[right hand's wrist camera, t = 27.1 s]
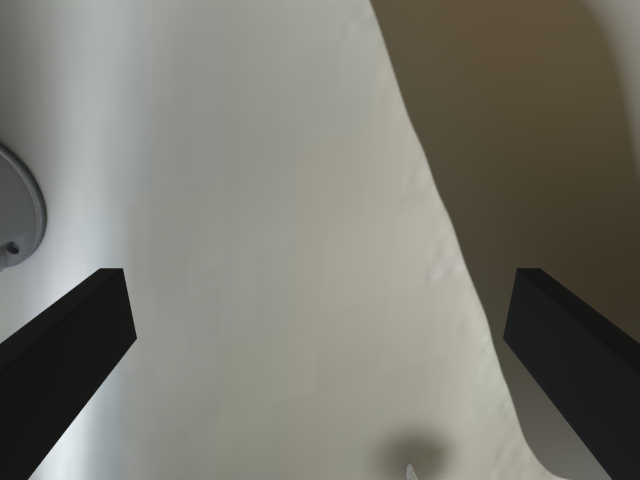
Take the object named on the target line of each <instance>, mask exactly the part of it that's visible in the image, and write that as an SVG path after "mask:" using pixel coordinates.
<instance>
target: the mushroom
mask: <svg viewBox="0 0 640 480" xmlns="http://www.w3.org/2000/svg"><path fill="white" fill-rule="evenodd" d="M407 480H418V479H417V477H416V475H415V472H414V470H413V467H412V465H411V464H408V466H407Z"/></svg>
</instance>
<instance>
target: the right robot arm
mask: <svg viewBox="0 0 640 480" xmlns="http://www.w3.org/2000/svg"><path fill="white" fill-rule="evenodd" d="M45 223H46V214H45V207H44V202H43V199H42V196H41V193H40V190H39V188H38V186H37V184H36V182H35V180H34V179H33V177H32V175H31V174H30V172H29V171H28V170H27V168H26V167H25V166H24V165H23V163H22V162H21V161H20V160H19V159H18V158H17V157H16V156H15V155H14V154H13V153H12V152H11V151H10V150H8V149H7V148H6V147H5V146H3V145H2V144H0V272H1V271H4V270H6V269H9V268H11V267H13V266H15V265H17V264H18V263H20V262H22V261H24V260H25V259H27V258H28V257H29V256H30V255H31V254H32V253H33V252H34V251H35V250H36V249H37V247H38V246H39V244H40V242H41V240H42V237H43V234H44V230H45ZM136 339H137V336H136V331H135V326H134V321H133V316H132V311H131V306H130V301H129V296H128V291H127V286H126V281H125V276H124V272H123V268H100V269H98V270H97V271H96V272H94V273H93V274H92V275H90V276H89V277H88V278H86V279H85V280H84V281H82V282H81V283H80V284H79V285H77V286H76V287H75V288H73V289H72V290H71V291H69V292H68V293H67V294H65V295H64V296H63V297H61V298H60V299H59V300H57V301H56V302H55V303H53V304H52V305H51V306H50V307H48V308H47V309H46V310H44V311H43V312H42V313H40V314H39V315H38V316H36V317H35V318H34V319H32V320H31V321H30V322H28V323H27V324H26V325H24V326H23V327H22V328H20V329H19V330H18V331H17V332H15V333H14V334H13V335H11V336H10V337H9V338H7V339H6V340H5V341H3V342H2V343H1V344H0V480H28V479H29V478H30V476H31V475H32V474H33V472H34V471H35V470H36V468H37V467H38V466H39V465H40V463H41V462H42V461H43V459H44V458H45V457H46V456H47V454H48V453H49V452H50V450H51V449H52V448H53V446H54V445H55V444H56V443H57V441H58V440H59V439H60V437H61V436H62V435H63V433H64V432H65V431H66V430H67V428H68V427H69V426H70V424H71V423H72V422H73V421H74V419H75V418H76V417H77V415H78V414H79V413H80V411H81V410H82V409H83V408H84V406H85V405H86V404H87V402H88V401H89V400H90V399H91V397H92V396H93V395H94V393H95V392H96V391H97V389H98V388H99V387H100V386H101V384H102V383H103V382H104V380H105V379H106V378H107V377H108V375H109V374H110V373H111V371H112V370H113V369H114V367H115V366H116V365H117V364H118V362H119V361H120V360H121V358H122V357H123V356H124V355H125V353H126V352H127V351H128V349H129V348H130V347H131V345H132V344H133V343H134V342H135V340H136ZM503 339H504V340H505V342H506V343H507V344H508V345H509V347H510V348H511V349H512V351H513V352H514V353H515V354H516V356H517V357H518V358H519V360H520V361H521V362H522V364H523V365H524V366H525V367H526V369H527V370H528V371H529V373H530V374H531V375H532V377H533V378H534V379H535V380H536V382H537V383H538V384H539V386H540V387H541V388H542V389H543V391H544V392H545V393H546V395H547V396H548V397H549V399H550V400H551V401H552V402H553V404H554V405H555V406H556V408H557V409H558V410H559V411H560V413H561V414H562V415H563V417H564V418H565V419H566V421H567V422H568V423H569V424H570V426H571V427H572V428H573V430H574V431H575V432H576V433H577V435H578V436H579V437H580V439H581V440H582V441H583V443H584V444H585V445H586V446H587V448H588V449H589V450H590V452H591V453H592V454H593V455H594V457H595V458H596V459H597V461H598V462H599V463H600V465H601V466H602V467H603V468H604V470H605V471H606V472H607V474H608V475H609V476H610V477H611V479H612V480H640V344H639V343H638V342H637V341H635V340H634V339H633V338H631V337H630V336H629V335H627V334H626V333H625V332H623V331H622V330H621V329H619V328H618V327H617V326H616V325H614V324H613V323H612V322H610V321H609V320H608V319H606V318H605V317H604V316H602V315H601V314H600V313H598V312H597V311H596V310H594V309H593V308H592V307H590V306H589V305H588V304H586V303H585V302H584V301H582V300H581V299H580V298H579V297H577V296H576V295H575V294H573V293H572V292H571V291H569V290H568V289H567V288H565V287H564V286H563V285H561V284H560V283H559V282H558V281H556V280H555V279H553V278H552V277H551V276H550V275H548V274H547V273H546V272H544V271H543V270H542V269H540V268H517V272H516V276H515V281H514V286H513V291H512V296H511V301H510V306H509V311H508V316H507V321H506V326H505V331H504V336H503Z"/></svg>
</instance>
